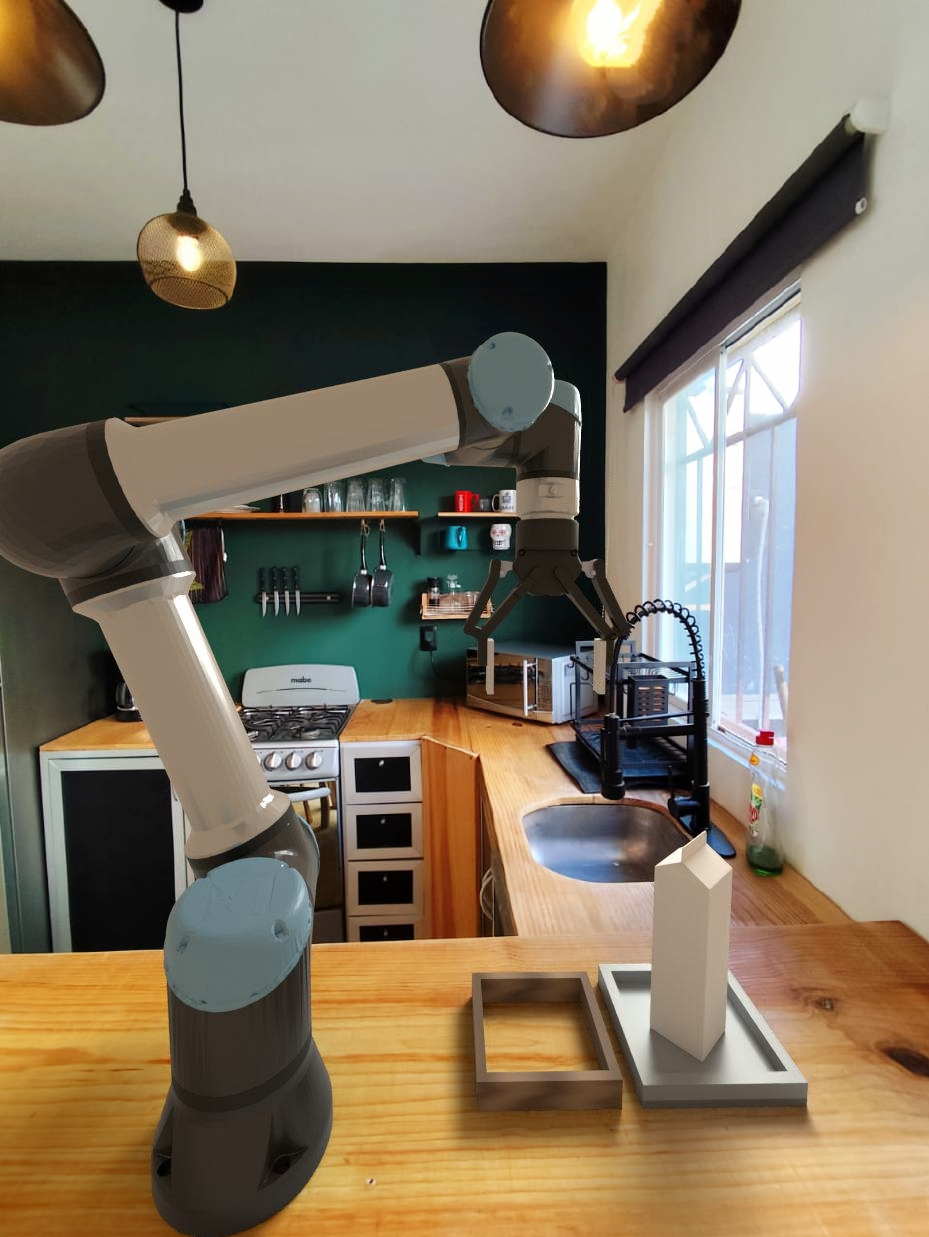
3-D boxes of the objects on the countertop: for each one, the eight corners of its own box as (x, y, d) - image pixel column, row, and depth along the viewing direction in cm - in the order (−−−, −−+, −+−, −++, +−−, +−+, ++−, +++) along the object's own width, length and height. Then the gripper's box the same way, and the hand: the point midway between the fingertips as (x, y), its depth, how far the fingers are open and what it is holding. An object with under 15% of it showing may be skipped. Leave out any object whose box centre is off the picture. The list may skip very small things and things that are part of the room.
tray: (642, 1108, 51) (643, 1085, 51) (598, 981, 67) (598, 963, 67) (806, 1105, 52) (808, 1082, 51) (723, 980, 67) (724, 962, 67)
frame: (476, 1111, 51) (476, 1082, 51) (471, 995, 65) (472, 972, 65) (622, 1108, 51) (622, 1079, 51) (586, 994, 65) (586, 971, 65)
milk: (725, 1030, 59) (736, 840, 57) (702, 1064, 55) (712, 860, 53) (672, 998, 64) (681, 820, 62) (647, 1027, 59) (655, 837, 58)
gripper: (443, 515, 60) (443, 698, 62) (661, 516, 61) (655, 698, 63) (444, 521, 68) (444, 685, 70) (638, 522, 68) (633, 685, 70)
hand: (544, 692), depth 66 cm, fingers open, 13 cm apart
